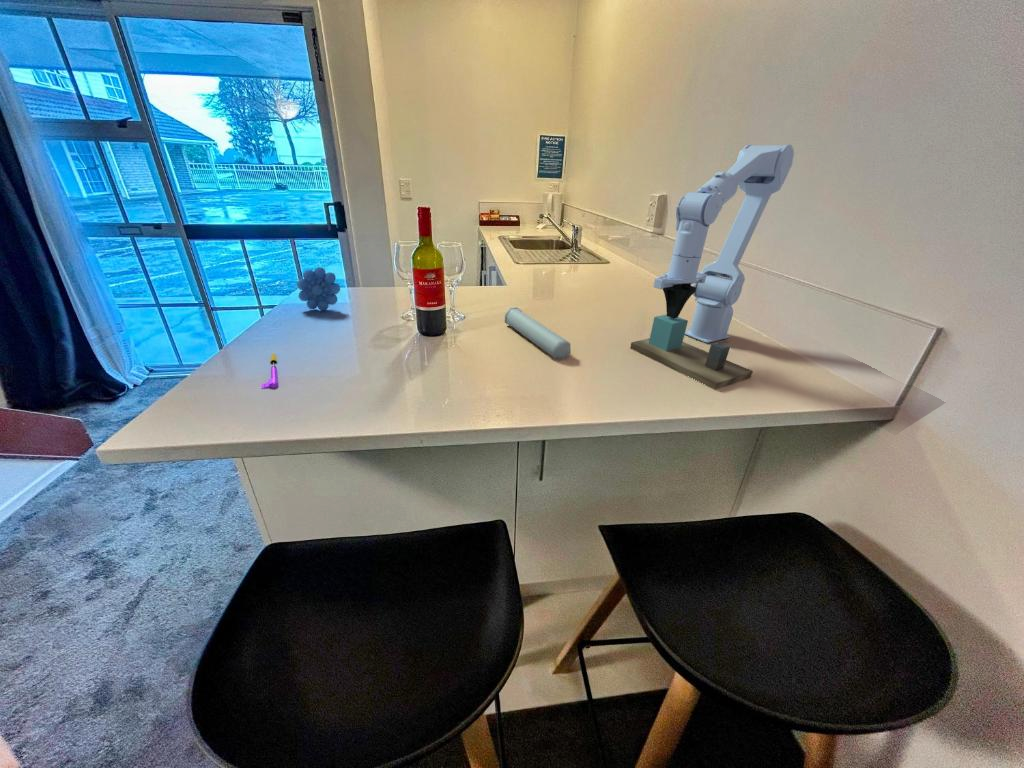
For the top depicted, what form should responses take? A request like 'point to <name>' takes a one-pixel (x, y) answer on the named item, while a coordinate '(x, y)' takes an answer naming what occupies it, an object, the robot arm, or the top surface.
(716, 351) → the graphite post
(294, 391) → the top surface
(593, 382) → the top surface
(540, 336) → the tube
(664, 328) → the teal block
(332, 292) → the grapes
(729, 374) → the brown wooden board
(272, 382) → the purple bent rod
